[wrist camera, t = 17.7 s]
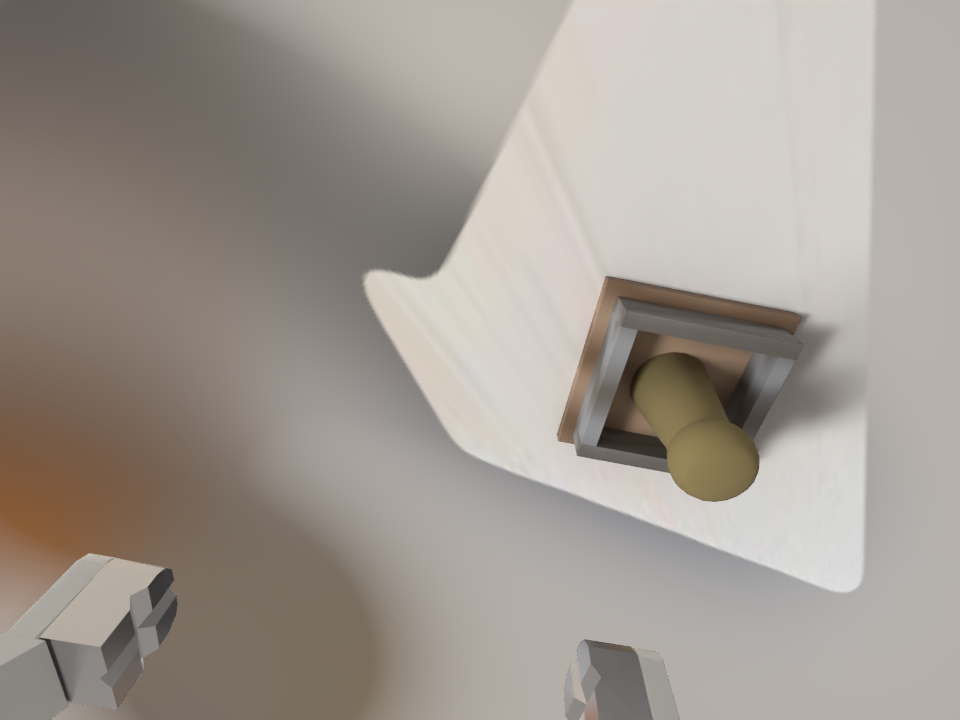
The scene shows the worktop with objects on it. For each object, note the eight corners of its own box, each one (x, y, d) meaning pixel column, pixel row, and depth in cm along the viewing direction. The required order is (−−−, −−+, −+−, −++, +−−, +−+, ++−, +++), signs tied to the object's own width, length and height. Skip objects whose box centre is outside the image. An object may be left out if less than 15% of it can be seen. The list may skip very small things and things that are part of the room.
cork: (665, 337, 37) (720, 418, 27) (726, 376, 38) (800, 468, 28) (614, 395, 39) (647, 488, 29) (672, 430, 40) (723, 531, 30)
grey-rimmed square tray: (605, 276, 36) (616, 293, 32) (794, 312, 36) (825, 334, 33) (557, 434, 42) (561, 463, 39) (717, 463, 43) (736, 495, 39)
